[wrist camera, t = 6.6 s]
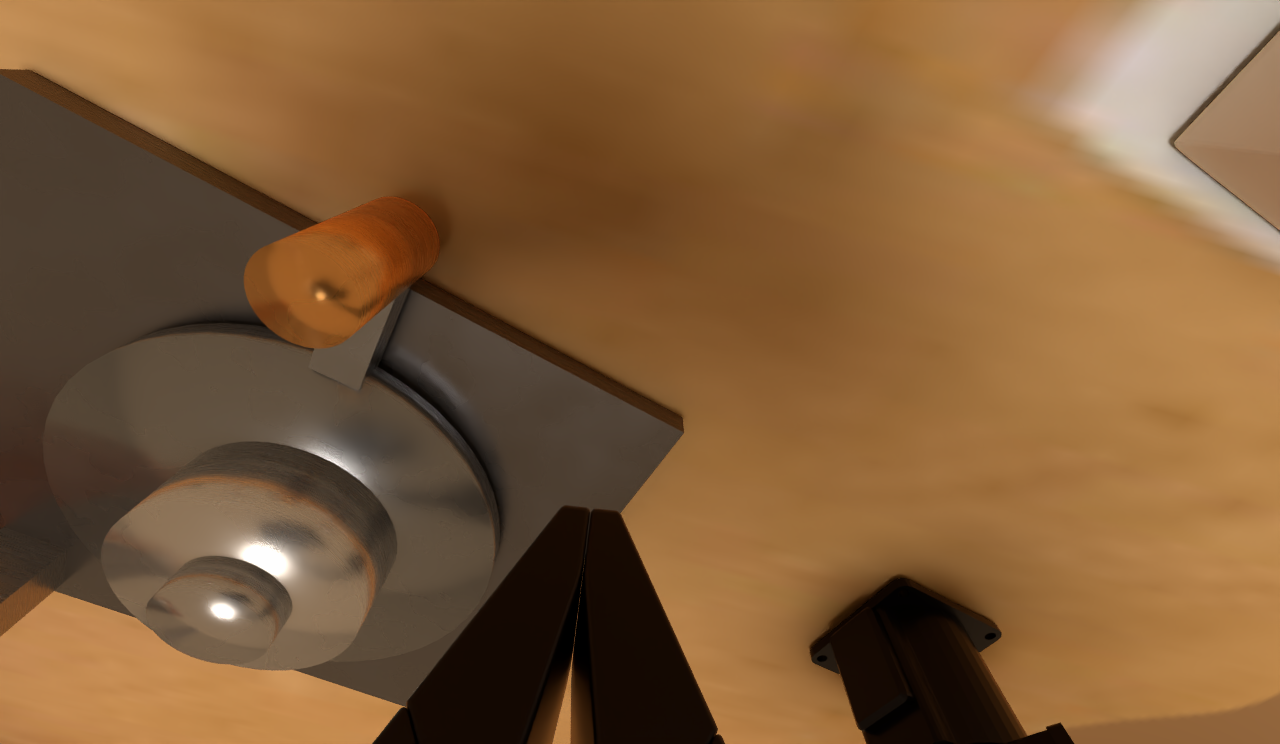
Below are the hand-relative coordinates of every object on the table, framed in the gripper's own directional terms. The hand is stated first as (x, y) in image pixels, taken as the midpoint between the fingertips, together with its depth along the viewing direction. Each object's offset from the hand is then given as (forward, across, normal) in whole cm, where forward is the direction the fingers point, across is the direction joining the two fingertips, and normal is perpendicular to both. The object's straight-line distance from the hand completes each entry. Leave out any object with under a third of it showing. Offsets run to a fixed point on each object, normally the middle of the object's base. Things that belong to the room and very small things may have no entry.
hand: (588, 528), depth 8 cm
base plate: (+11, +12, +11) cm, 19 cm away
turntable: (+10, +10, +8) cm, 16 cm away
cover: (+9, +11, +11) cm, 18 cm away
